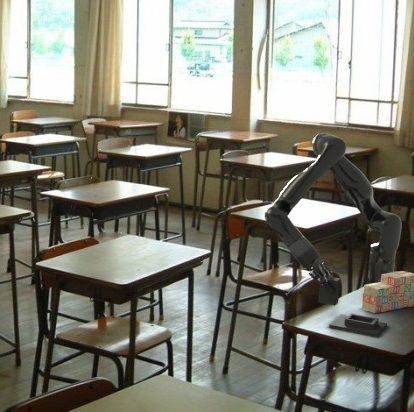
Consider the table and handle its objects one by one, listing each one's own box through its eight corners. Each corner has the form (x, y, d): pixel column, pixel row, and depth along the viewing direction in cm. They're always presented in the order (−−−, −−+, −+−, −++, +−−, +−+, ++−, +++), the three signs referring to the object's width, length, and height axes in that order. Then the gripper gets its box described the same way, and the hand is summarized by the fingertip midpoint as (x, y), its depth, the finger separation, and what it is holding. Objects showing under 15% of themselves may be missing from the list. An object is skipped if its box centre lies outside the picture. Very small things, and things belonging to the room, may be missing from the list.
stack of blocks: (375, 313, 314) (378, 281, 311) (361, 309, 319) (364, 276, 317) (413, 305, 325) (417, 274, 322) (399, 301, 330) (403, 270, 328)
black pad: (321, 299, 313) (323, 275, 311) (338, 302, 310) (340, 278, 308) (318, 302, 310) (320, 278, 308) (334, 305, 307) (337, 281, 305)
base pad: (340, 317, 309) (341, 308, 308) (386, 326, 301) (387, 317, 300) (328, 327, 298) (329, 318, 297) (377, 337, 289) (377, 328, 288)
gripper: (305, 249, 304) (337, 289, 300) (317, 242, 316) (348, 279, 312) (289, 262, 308) (320, 301, 304) (302, 253, 320) (332, 291, 316)
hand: (334, 290), depth 308 cm, fingers closed on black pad, 4 cm apart
